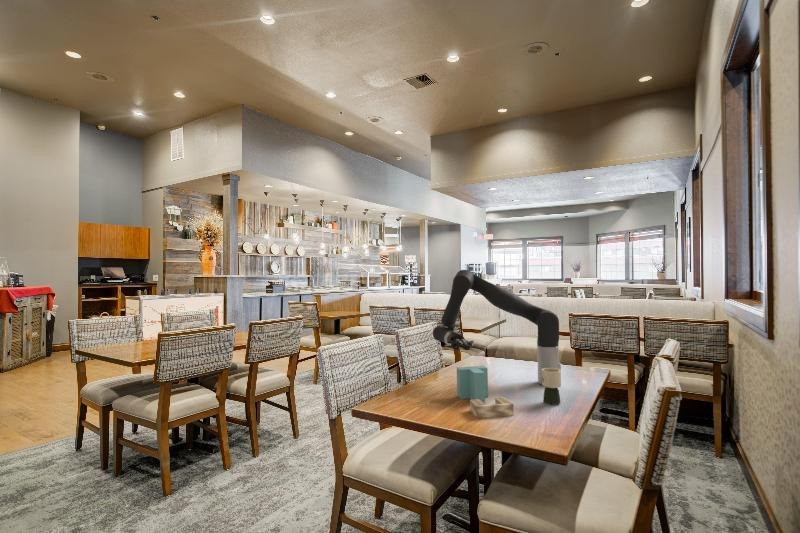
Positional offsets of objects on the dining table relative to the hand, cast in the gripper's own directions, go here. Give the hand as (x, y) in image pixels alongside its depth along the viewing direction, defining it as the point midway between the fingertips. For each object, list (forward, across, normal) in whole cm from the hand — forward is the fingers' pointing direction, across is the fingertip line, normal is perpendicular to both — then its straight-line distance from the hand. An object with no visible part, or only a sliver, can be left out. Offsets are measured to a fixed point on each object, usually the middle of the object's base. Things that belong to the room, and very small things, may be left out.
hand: (467, 347), depth 182 cm
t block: (+10, 0, -19) cm, 21 cm away
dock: (+27, +1, -18) cm, 33 cm away
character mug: (+23, -26, -18) cm, 39 cm away
